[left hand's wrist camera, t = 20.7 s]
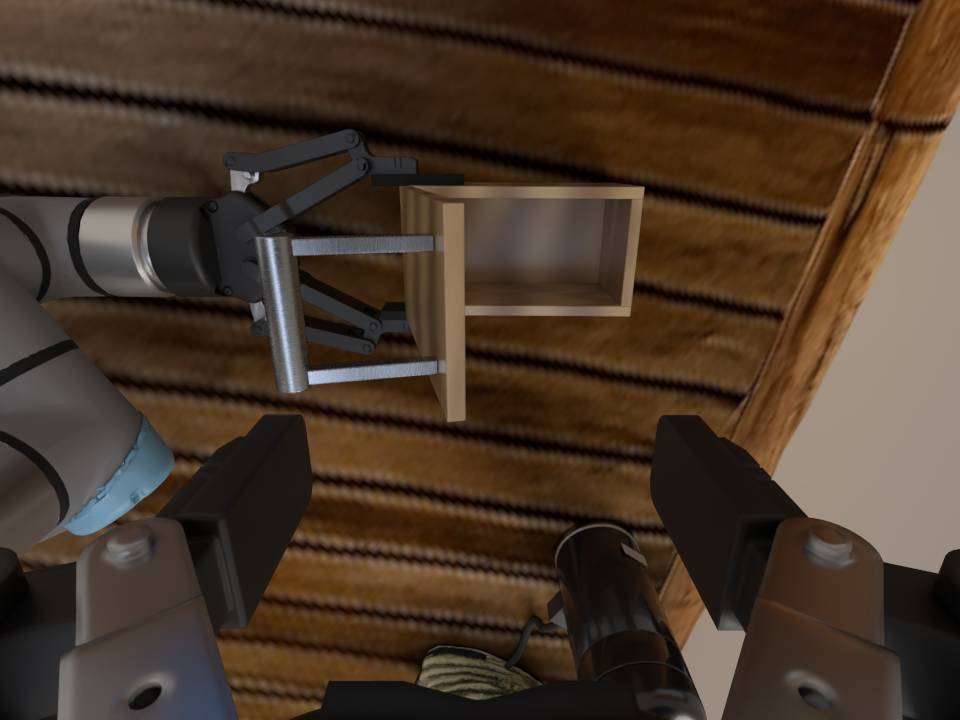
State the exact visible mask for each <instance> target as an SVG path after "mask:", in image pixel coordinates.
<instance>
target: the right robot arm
mask: <svg viewBox="0 0 960 720" xmlns="http://www.w3.org/2000/svg"><path fill="white" fill-rule="evenodd" d="M346 152H349V155H350V157H351V159H352V161H351V162H349V163H347V164H346V165H344V166H342V167H341V168H339V169H337V170H336V171H334V172H332V173H330V174H329V175H327V176H325V177H324V178H322V179H320V180H319V181H317V182H315V183H314V184H312V185H310V186H308V187H307V188H305V189H303V190H302V191H300V192H298V193H297V194H295V195H293V196H291V197H290V198H288V199H286V200H284V201H282V202H280V203H278V204H276V205H274V206H273V207H272V206H270V205H269V204H268V203H266V202H265V201H263V200H262V199H260V198H259V197H257V196H256V195H254V194H253V193H251V192H250V188H251V186H252V185H253V184H255V183H260V182H261V181H262V180H263V178H264V172H275V171H280V170H284V169H287V168H291V167H295V166H298V165H302V164H306V163H309V162H313V161H317V160H320V159H324V158H328V157H331V156H335V155H339V154H342V153H346ZM223 164H224V165H225V167H226V168H228V169H229V170H230V174H231V190H232V191H230V192H228V193H227V194H225V195H223V196H221V197H167V198H165V199H162V198H160V197H94V198H74V197H20V196H18V195H0V547H4V548H9V549H11V550H13V551H14V552H15V553H16V554H17V556H18V558H20V557H21V556H22V555H23V554H25V553H26V552H27V551H28V550H29V549H31V548H32V547H33V546H34V545H35V544H37V543H40V542H42V541H44V540H46V539H49V538H51V537H53V536H55V535H58V534H60V533H62V532H64V531H67V530H69V531H70V532H71V533H73V534H76V535H88V534H91V533H94V532H96V531H98V530H100V529H102V528H103V527H105V526H107V525H108V524H110V523H112V522H113V521H115V520H116V519H118V518H119V517H120V516H122V515H123V514H125V513H126V512H127V511H129V510H130V509H131V508H133V507H134V506H135V505H136V504H137V503H138V502H139V501H141V500H142V499H143V498H144V497H146V496H147V495H149V494H150V493H151V492H153V491H154V490H155V489H156V488H157V487H158V486H159V485H160V484H161V483H162V482H163V481H164V480H165V479H166V478H167V477H168V475H169V474H170V472H171V470H172V468H173V465H174V456H173V454H172V452H171V450H170V449H169V448H168V446H167V445H166V444H165V442H164V441H163V440H162V439H161V437H160V436H159V435H158V433H157V432H156V431H155V430H154V428H153V427H152V426H151V424H150V423H149V422H148V420H147V418H146V417H145V416H144V415H143V413H141V412H139V411H137V410H136V409H135V408H134V406H133V405H132V404H131V403H130V402H129V401H128V400H127V399H126V398H125V397H124V396H123V395H122V394H121V393H120V392H119V390H118V389H117V388H116V387H115V386H114V385H113V384H112V383H111V382H110V381H109V380H108V379H107V378H106V377H105V375H104V374H103V373H102V372H101V371H100V370H99V369H98V368H97V367H96V366H95V365H94V364H93V363H92V362H91V361H90V359H89V358H88V357H87V356H86V355H85V354H84V353H83V352H82V351H81V350H80V348H79V347H78V346H77V345H76V344H75V343H74V342H73V341H72V339H71V338H70V337H69V336H68V335H67V334H66V332H65V331H64V330H63V329H62V328H61V327H60V326H59V325H58V324H57V322H56V321H55V320H54V319H53V318H52V317H51V316H50V315H49V314H48V312H47V311H46V310H45V309H44V308H43V307H42V306H41V305H40V304H41V303H44V302H47V301H50V300H54V299H58V298H64V297H86V296H131V297H171V296H175V295H177V296H180V297H236V298H239V299H241V300H243V301H245V302H248V303H250V307H251V310H252V314H253V318H254V321H255V323H253V324H252V325H251V327H250V331H251V333H252V334H253V335H254V336H256V337H265V336H269V335H268V328H267V321H266V315H265V308H264V301H263V294H262V288H261V281H260V274H259V268H258V261H257V254H256V247H255V241H254V235H257V234H261V233H274V232H285V233H292V234H294V237H296V229H295V226H292V223H291V221H293V220H294V219H296V218H298V217H299V216H301V215H303V214H304V213H305V212H307V211H309V210H310V209H312V208H314V207H316V206H317V205H319V204H321V203H323V202H324V201H326V200H328V199H329V198H331V197H333V196H335V195H336V194H338V193H340V192H342V191H343V190H345V189H347V188H348V187H350V186H352V185H354V184H355V183H357V182H359V181H360V180H362V179H364V178H366V177H367V176H369V175H371V178H372V186H408V185H464V174H419V170H418V160H416V159H414V158H412V157H376V156H374V155H373V154H372V153H371V152H370V150H369V148H368V146H367V143H366V138H365V136H364V134H363V133H362V132H359V131H356V130H352V129H346V130H343V131H339V132H336V133H332V134H328V135H325V136H321V137H318V138H314V139H310V140H307V141H303V142H300V143H296V144H292V145H289V146H285V147H281V148H278V149H274V150H271V151H267V152H263V153H260V154H251V153H237V152H227V153H226V154H225V155H224V156H223ZM297 262H298V267H299V266H300V262H299V256H297ZM298 271H299V279H300V287H301V295H302V300H304V301H306V302H308V303H310V304H312V305H314V306H316V307H318V308H320V309H322V310H324V311H327V312H329V313H331V314H333V315H335V316H337V317H339V318H341V319H343V320H345V321H347V322H349V323H351V324H353V325H355V326H358V327H360V328H362V329H360V328H355V327H351V326H347V325H343V324H338V323H334V322H330V321H326V320H321V319H317V318H313V317H309V316H304V320H305V328H306V336H307V341H309V342H313V343H317V344H321V345H326V346H330V347H334V348H339V349H343V350H347V351H352V352H356V353H360V354H365V355H370V354H372V353H373V352H374V350H375V348H376V347H377V345H378V343H379V341H380V337H381V334H382V333H384V332H412V331H411V329H410V326H409V324H408V321H407V319H406V310H405V302H386V304H385V305H384V307H383V308H382V310H381V311H380V310H378V309H375V308H373V307H371V306H369V305H367V304H365V303H363V302H361V301H359V300H357V299H355V298H353V297H351V296H349V295H347V294H345V293H343V292H341V291H339V290H337V289H335V288H333V287H331V286H329V285H327V284H325V283H323V282H321V281H319V280H317V279H315V278H313V277H312V276H311V275H310V274H309V273H307V272H305V271H303V270H301V269H299V268H298Z"/></svg>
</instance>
